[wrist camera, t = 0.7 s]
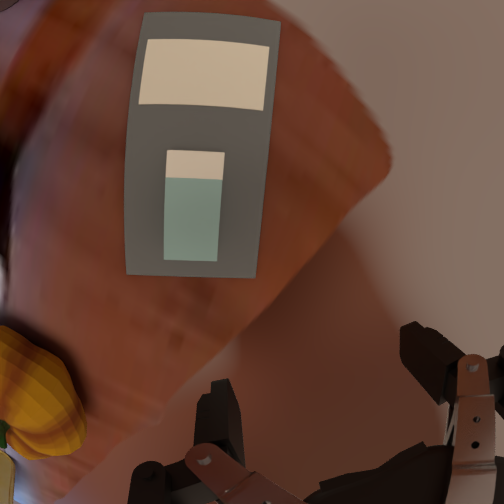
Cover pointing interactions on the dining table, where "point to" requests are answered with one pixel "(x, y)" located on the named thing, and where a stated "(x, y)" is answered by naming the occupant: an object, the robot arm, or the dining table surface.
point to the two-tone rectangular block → (192, 204)
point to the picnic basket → (6, 478)
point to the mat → (200, 131)
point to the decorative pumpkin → (37, 401)
